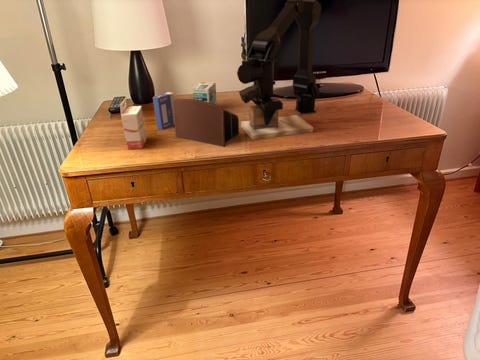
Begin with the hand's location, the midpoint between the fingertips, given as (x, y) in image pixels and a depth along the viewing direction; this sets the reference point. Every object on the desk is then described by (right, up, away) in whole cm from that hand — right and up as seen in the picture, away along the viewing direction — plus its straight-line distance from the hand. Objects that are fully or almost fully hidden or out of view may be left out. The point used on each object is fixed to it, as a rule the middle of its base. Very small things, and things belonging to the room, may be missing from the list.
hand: (264, 122), depth 121 cm
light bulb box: (-23, +8, +22) cm, 32 cm away
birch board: (+4, -2, +2) cm, 5 cm away
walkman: (-36, 0, +8) cm, 36 cm away
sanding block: (0, -1, +1) cm, 1 cm away
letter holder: (-20, -6, -2) cm, 21 cm away
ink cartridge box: (-42, -8, -7) cm, 44 cm away
